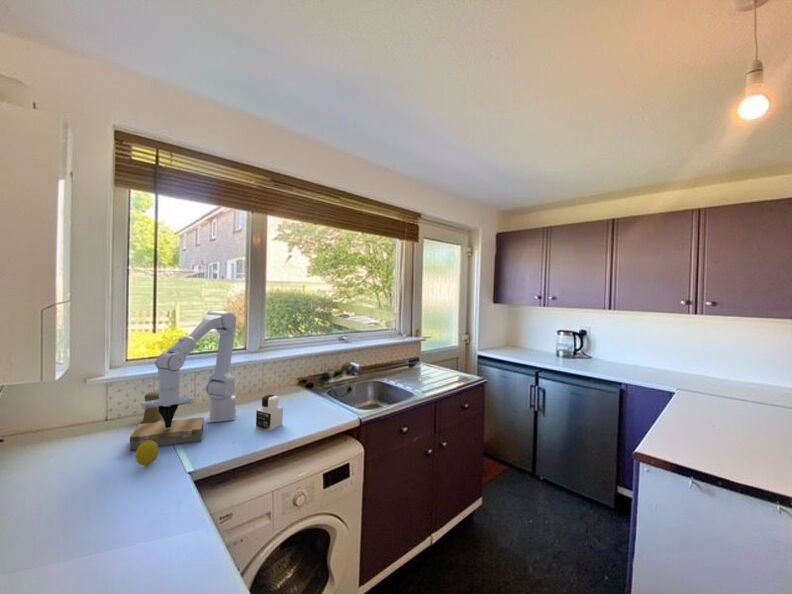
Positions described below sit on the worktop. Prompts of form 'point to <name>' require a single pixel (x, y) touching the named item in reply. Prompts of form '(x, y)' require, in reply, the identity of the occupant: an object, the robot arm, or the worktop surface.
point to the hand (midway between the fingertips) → (168, 426)
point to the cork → (151, 409)
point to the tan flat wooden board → (167, 429)
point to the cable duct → (171, 440)
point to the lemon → (147, 452)
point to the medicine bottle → (269, 413)
